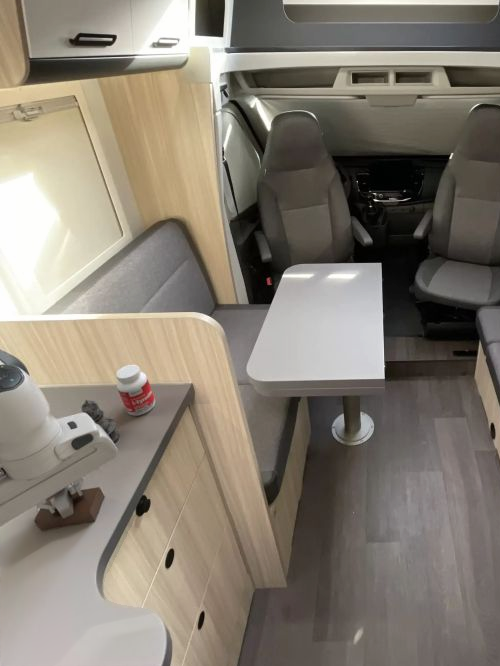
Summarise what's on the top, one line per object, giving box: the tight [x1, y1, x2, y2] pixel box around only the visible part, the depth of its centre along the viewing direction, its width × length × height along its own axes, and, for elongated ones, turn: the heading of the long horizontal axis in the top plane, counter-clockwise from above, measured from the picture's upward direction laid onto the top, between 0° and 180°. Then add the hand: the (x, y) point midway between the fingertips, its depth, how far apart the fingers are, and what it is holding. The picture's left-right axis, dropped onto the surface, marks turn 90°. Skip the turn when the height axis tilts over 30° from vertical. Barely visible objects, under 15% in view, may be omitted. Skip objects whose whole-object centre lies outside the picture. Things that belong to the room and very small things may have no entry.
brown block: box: [33, 486, 106, 532], centre depth 81 cm, size 9×5×3 cm, turn 101°
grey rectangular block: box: [54, 484, 73, 518], centre depth 79 cm, size 6×2×4 cm, turn 34°
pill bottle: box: [115, 364, 156, 417], centre depth 101 cm, size 6×6×11 cm
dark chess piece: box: [80, 399, 120, 445], centre depth 93 cm, size 6×6×12 cm
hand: (66, 502), depth 80 cm, fingers closed on grey rectangular block, 2 cm apart
